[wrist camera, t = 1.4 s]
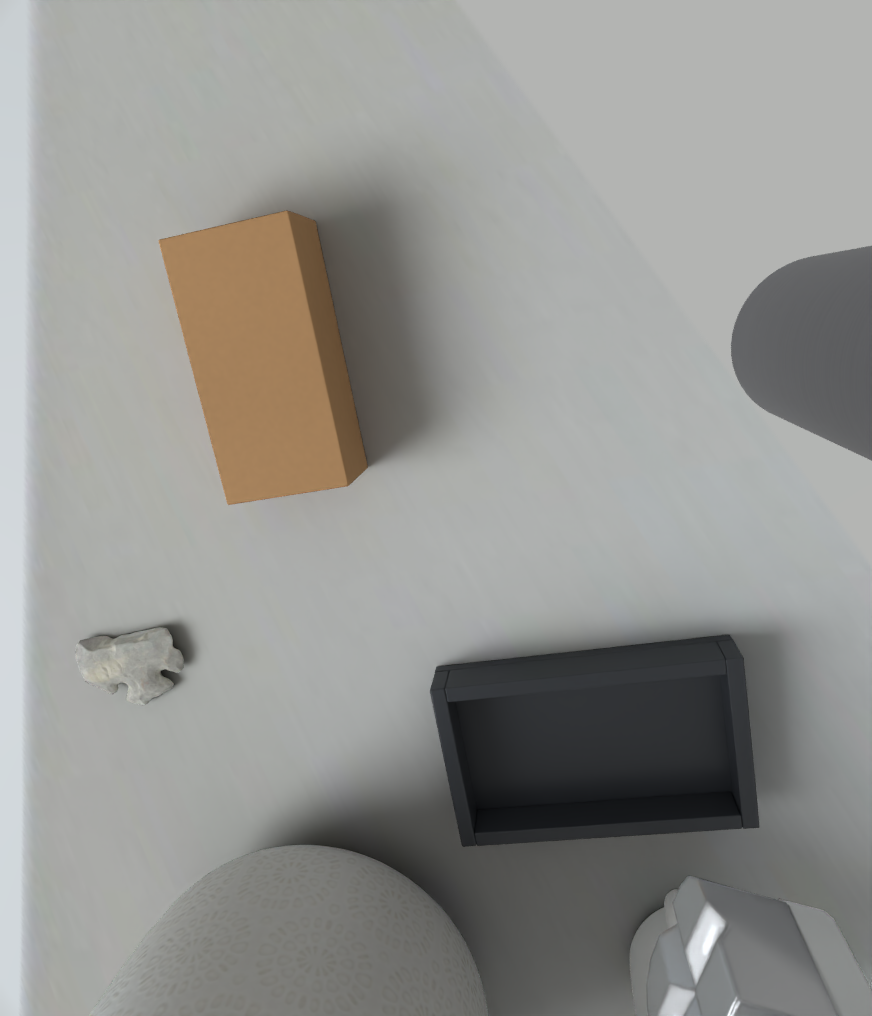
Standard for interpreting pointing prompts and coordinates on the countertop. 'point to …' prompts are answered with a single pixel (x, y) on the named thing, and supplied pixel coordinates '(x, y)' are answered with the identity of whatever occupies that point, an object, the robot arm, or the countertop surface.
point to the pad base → (598, 743)
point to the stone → (130, 663)
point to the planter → (300, 945)
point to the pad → (266, 356)
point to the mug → (648, 950)
